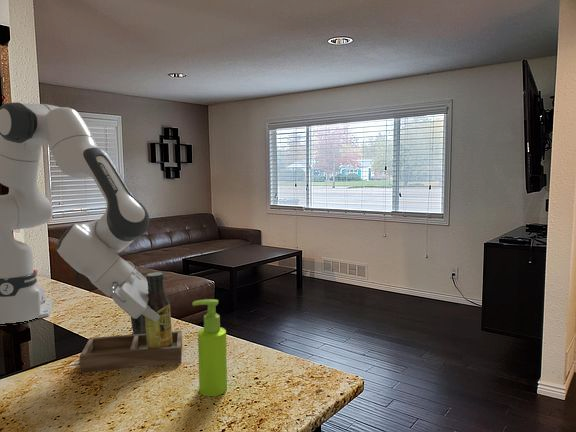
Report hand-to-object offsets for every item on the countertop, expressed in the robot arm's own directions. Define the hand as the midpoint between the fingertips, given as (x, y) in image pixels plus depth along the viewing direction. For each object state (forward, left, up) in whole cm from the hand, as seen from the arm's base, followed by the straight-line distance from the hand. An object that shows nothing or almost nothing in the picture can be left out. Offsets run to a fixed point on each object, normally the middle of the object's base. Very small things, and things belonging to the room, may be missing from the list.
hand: (159, 313), depth 112 cm
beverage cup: (-16, -6, -11) cm, 21 cm away
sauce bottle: (0, 0, -10) cm, 10 cm away
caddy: (0, -6, -11) cm, 13 cm away
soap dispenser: (+20, +12, -11) cm, 26 cm away
